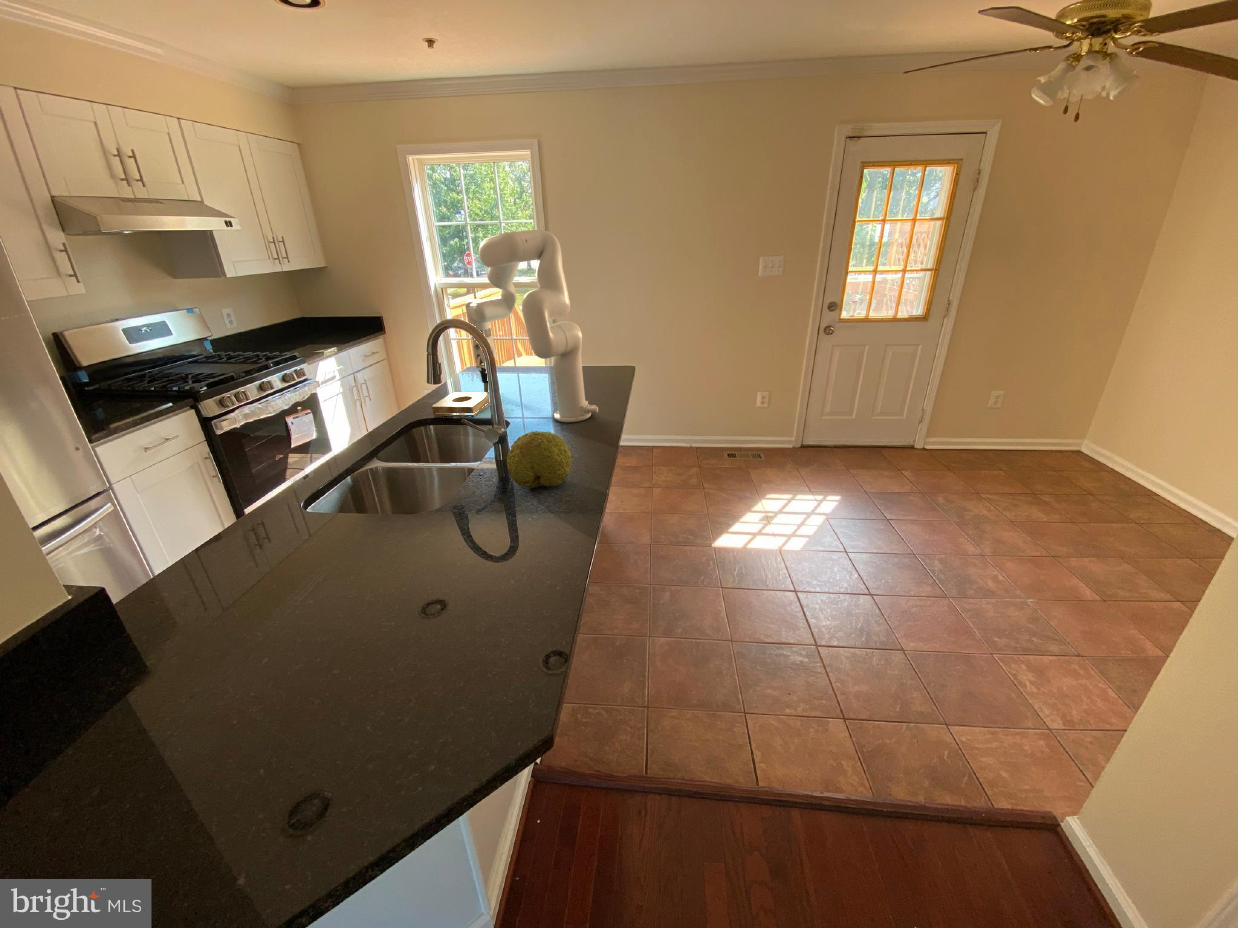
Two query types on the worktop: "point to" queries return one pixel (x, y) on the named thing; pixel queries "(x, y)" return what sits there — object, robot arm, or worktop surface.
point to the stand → (462, 403)
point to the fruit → (539, 460)
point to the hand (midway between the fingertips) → (489, 380)
